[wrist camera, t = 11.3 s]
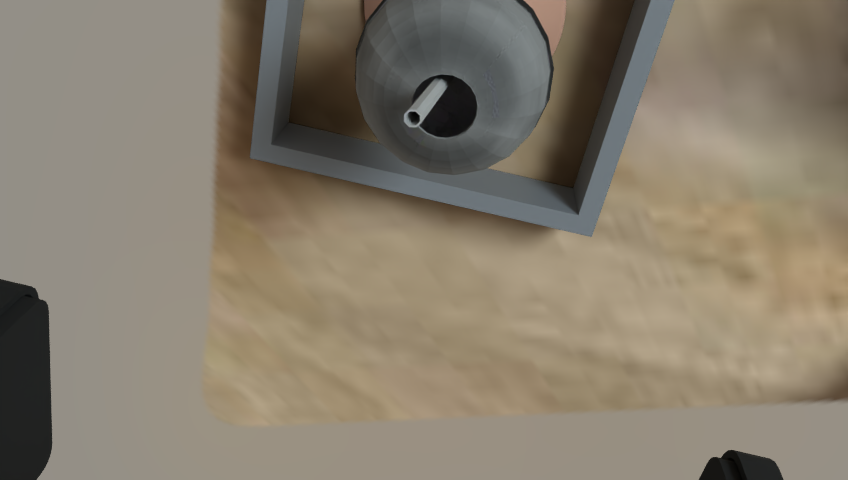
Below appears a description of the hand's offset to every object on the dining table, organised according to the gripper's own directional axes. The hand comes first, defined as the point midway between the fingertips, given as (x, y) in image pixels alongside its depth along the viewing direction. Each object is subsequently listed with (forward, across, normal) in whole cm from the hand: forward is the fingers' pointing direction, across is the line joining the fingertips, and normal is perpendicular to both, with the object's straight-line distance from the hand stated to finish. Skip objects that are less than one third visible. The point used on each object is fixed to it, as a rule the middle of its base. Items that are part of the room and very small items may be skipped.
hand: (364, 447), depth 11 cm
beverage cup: (+31, 0, 0) cm, 31 cm away
